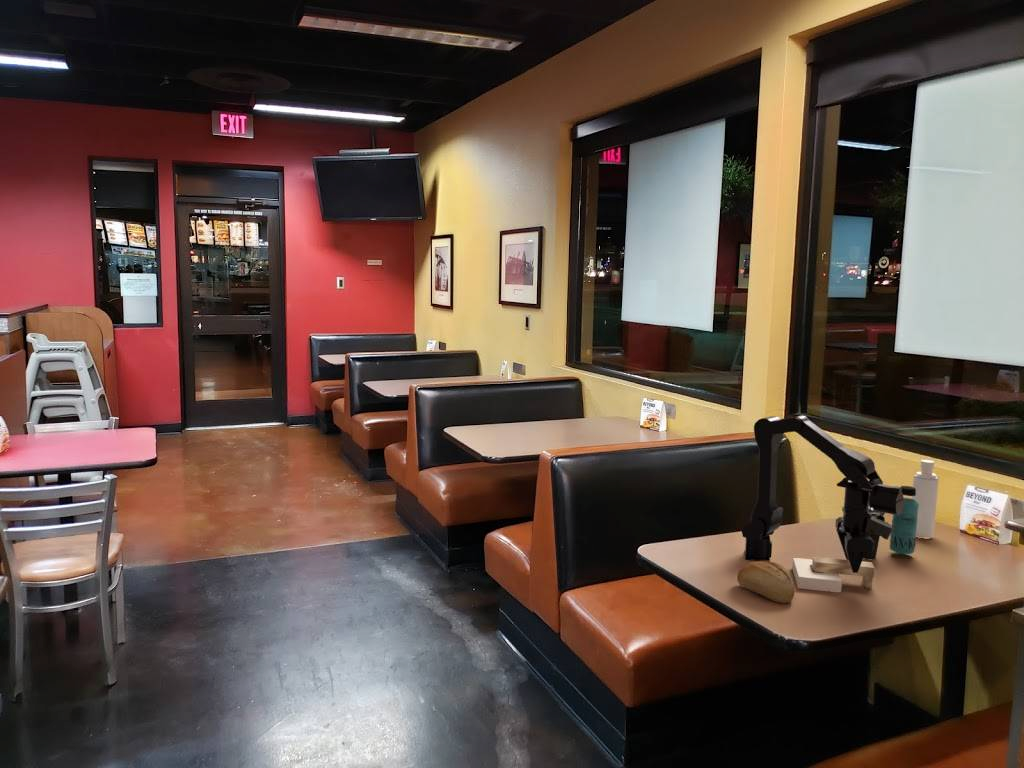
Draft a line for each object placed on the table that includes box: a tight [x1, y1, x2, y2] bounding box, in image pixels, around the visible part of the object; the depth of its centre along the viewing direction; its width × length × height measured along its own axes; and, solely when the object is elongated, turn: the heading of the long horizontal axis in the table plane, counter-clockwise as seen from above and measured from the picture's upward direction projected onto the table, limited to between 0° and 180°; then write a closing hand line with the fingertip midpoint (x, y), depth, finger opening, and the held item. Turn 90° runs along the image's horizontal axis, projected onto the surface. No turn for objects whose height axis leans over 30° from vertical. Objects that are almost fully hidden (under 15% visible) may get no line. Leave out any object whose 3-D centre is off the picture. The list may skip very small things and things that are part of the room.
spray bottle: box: [911, 459, 940, 538], centre depth 231 cm, size 7×7×25 cm
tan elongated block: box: [812, 556, 876, 589], centre depth 193 cm, size 14×4×6 cm, turn 76°
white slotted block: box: [791, 557, 843, 594], centre depth 195 cm, size 10×14×3 cm
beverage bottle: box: [889, 485, 919, 555], centre depth 213 cm, size 6×7×20 cm
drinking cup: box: [863, 504, 886, 560], centre depth 212 cm, size 8×8×20 cm
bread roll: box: [736, 560, 796, 604], centre depth 186 cm, size 10×15×8 cm, turn 38°
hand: (851, 566), depth 193 cm, fingers open, 9 cm apart
